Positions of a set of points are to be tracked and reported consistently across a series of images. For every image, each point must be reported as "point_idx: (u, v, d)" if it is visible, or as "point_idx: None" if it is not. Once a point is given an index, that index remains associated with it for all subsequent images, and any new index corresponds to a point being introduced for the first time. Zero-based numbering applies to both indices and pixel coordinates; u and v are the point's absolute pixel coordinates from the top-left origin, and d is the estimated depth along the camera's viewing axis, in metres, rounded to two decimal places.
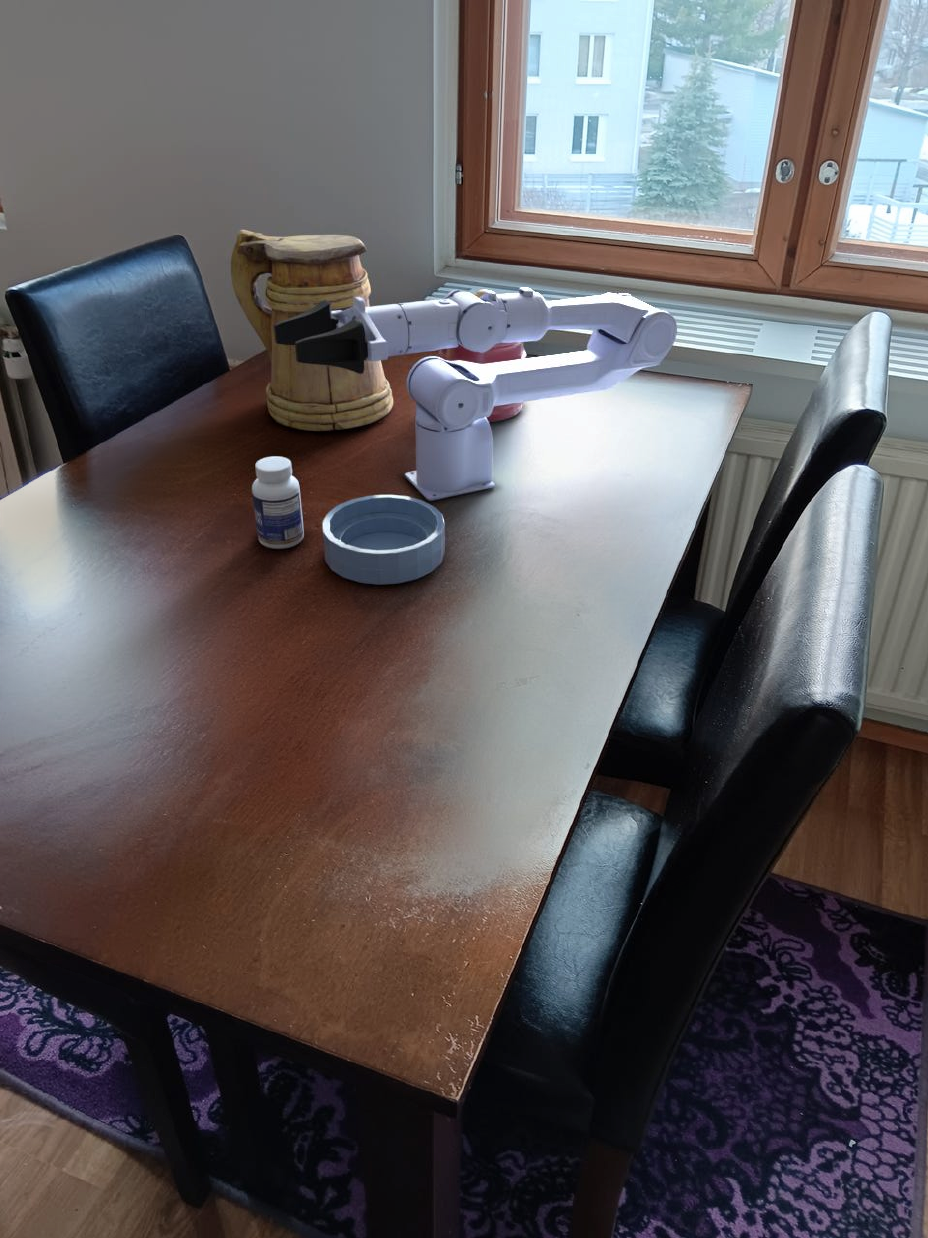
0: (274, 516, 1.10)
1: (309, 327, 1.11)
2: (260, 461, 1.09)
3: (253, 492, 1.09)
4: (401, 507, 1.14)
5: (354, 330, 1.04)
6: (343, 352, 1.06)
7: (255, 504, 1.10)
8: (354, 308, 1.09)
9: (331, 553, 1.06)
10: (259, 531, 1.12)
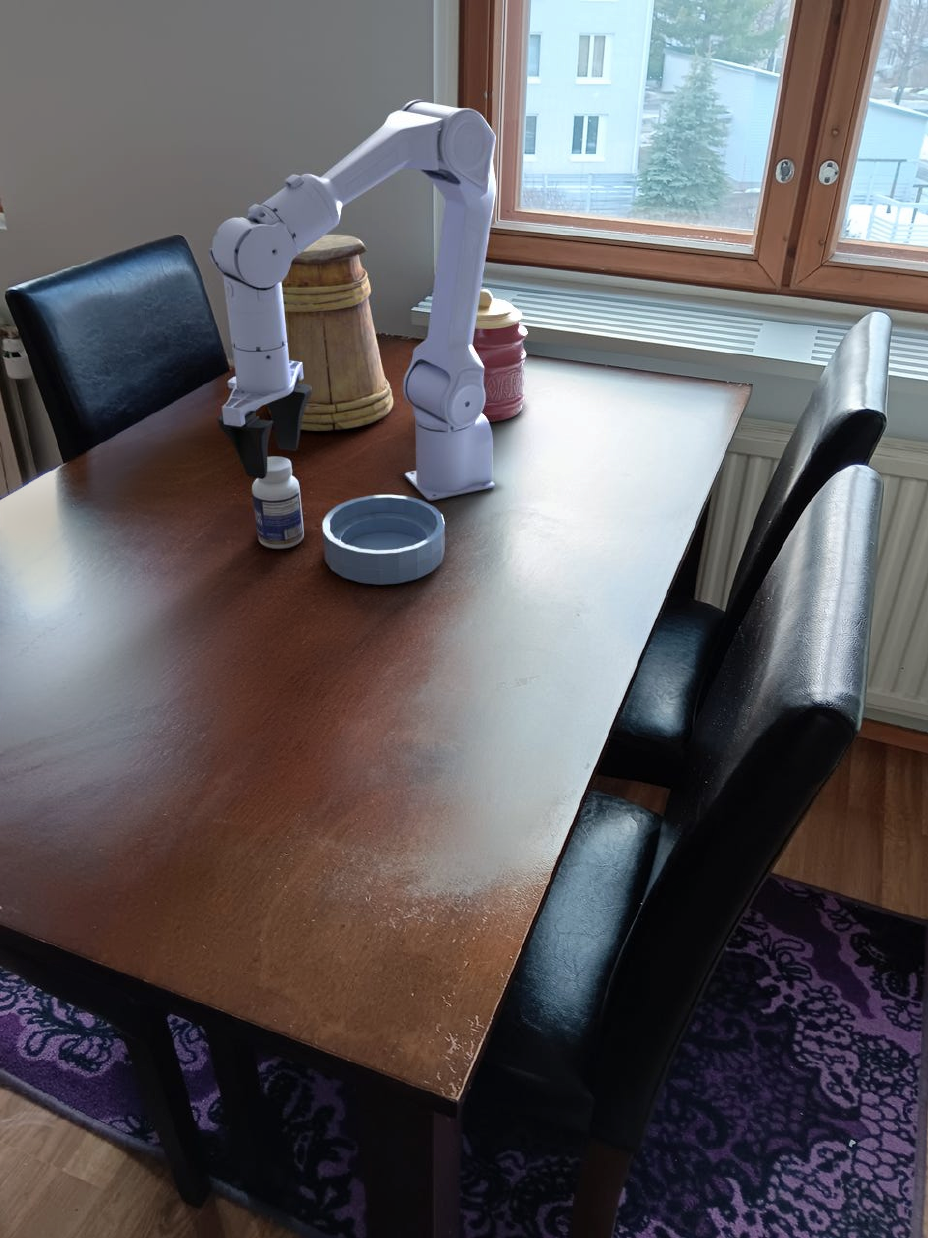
0: (274, 516, 1.10)
1: (282, 415, 1.09)
2: None
3: (253, 492, 1.09)
4: (401, 507, 1.14)
5: (222, 429, 1.01)
6: (253, 434, 1.02)
7: (255, 504, 1.10)
8: None
9: (331, 553, 1.06)
10: (259, 531, 1.12)
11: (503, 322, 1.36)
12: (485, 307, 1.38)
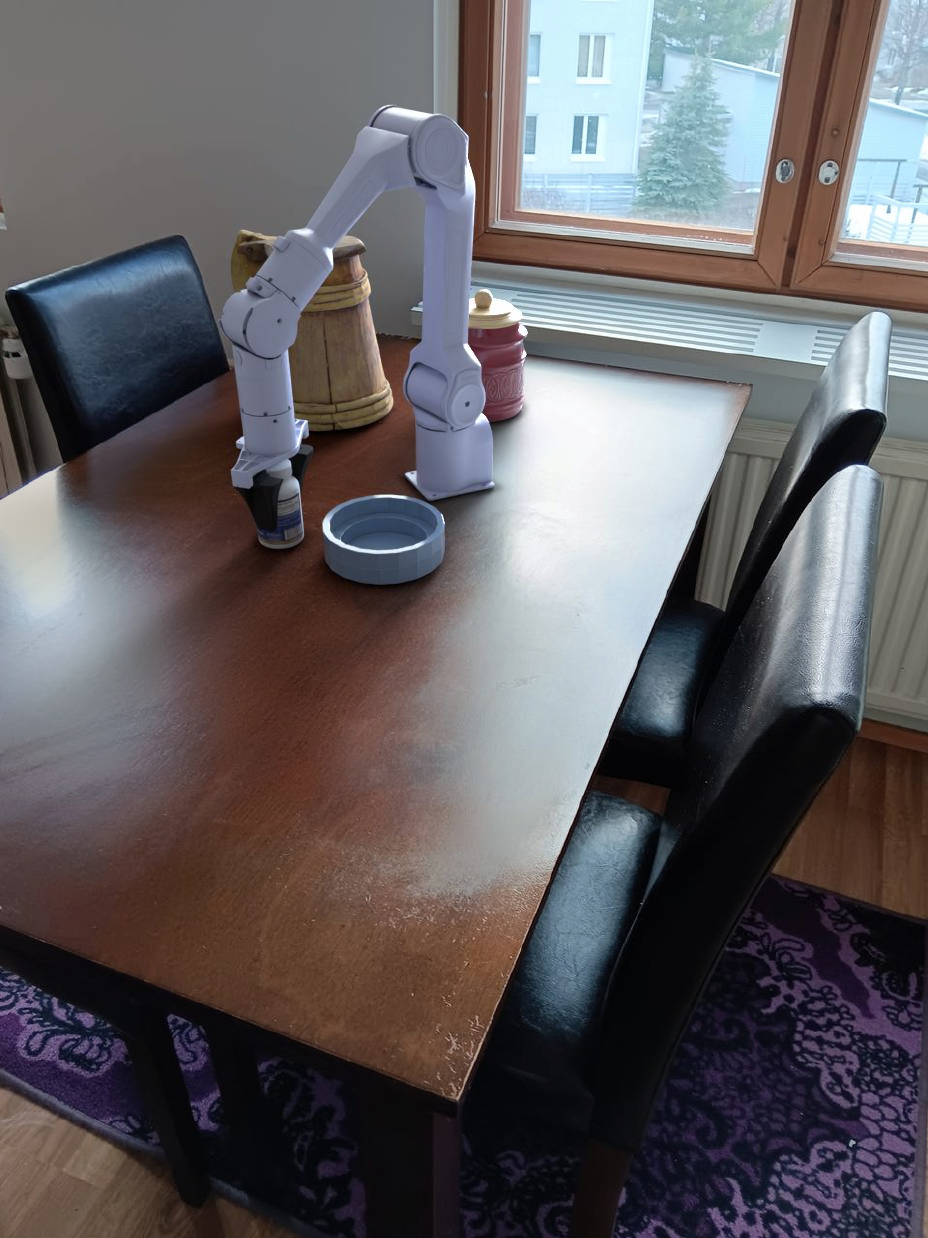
0: None
1: None
2: None
3: None
4: (401, 507, 1.14)
5: (234, 486, 1.06)
6: None
7: None
8: None
9: (331, 553, 1.06)
10: (259, 531, 1.12)
11: (503, 322, 1.36)
12: (485, 307, 1.38)
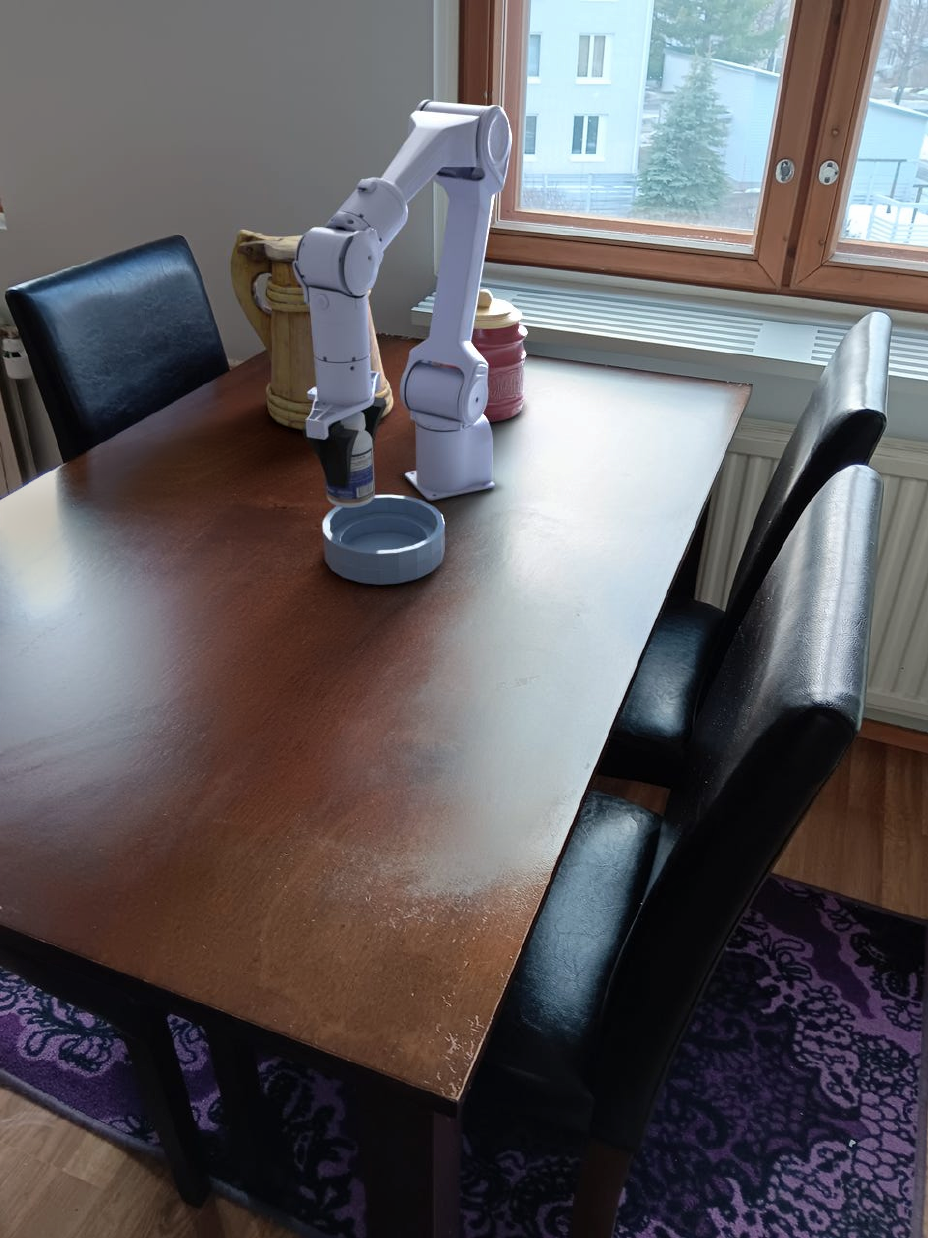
0: None
1: None
2: None
3: None
4: (401, 507, 1.14)
5: (307, 438, 1.00)
6: (337, 444, 1.01)
7: None
8: None
9: (331, 553, 1.06)
10: (329, 489, 1.06)
11: (503, 322, 1.36)
12: (485, 307, 1.38)
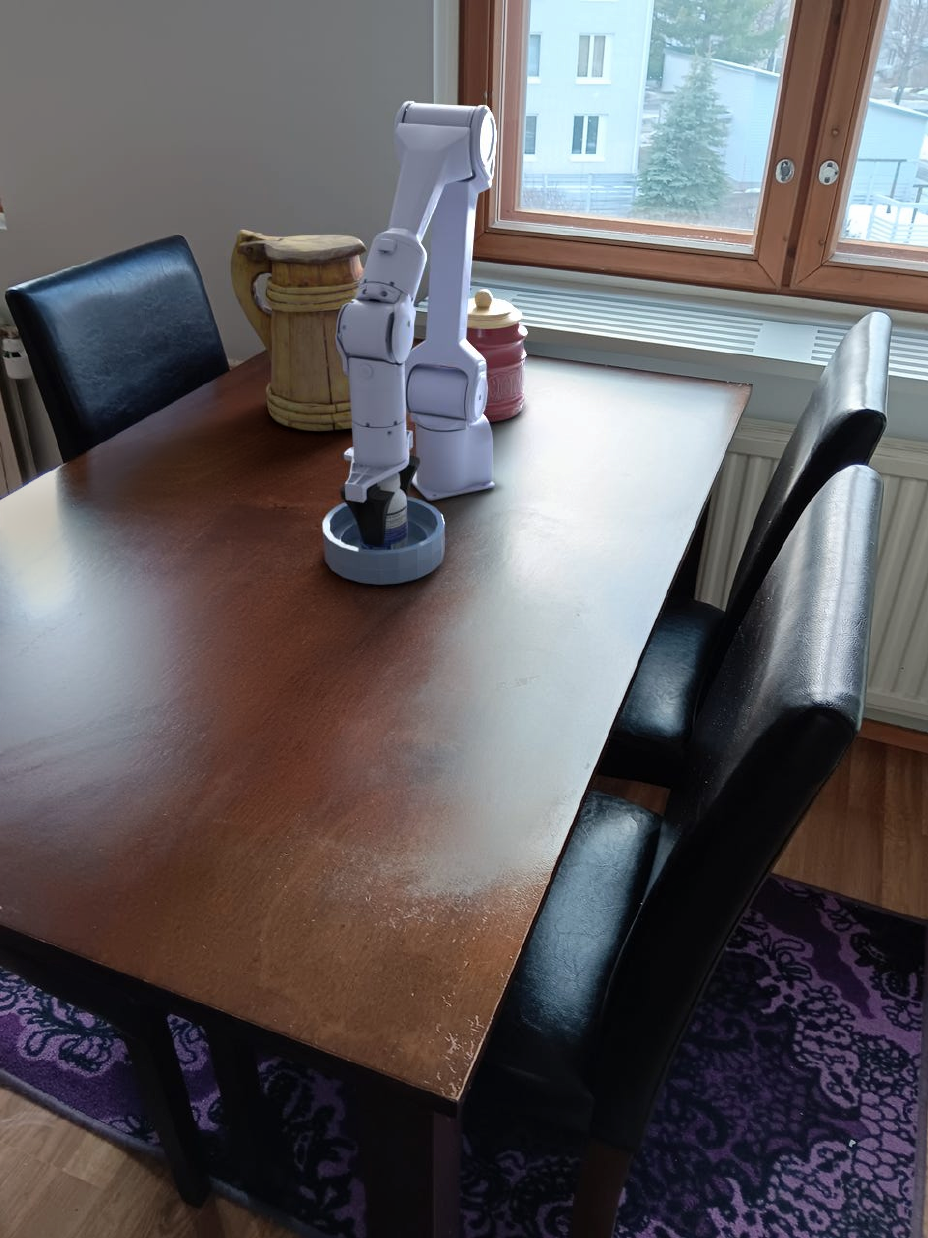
0: None
1: None
2: None
3: None
4: None
5: (344, 499, 1.02)
6: (373, 504, 1.03)
7: None
8: None
9: (331, 553, 1.06)
10: (364, 545, 1.08)
11: (503, 322, 1.36)
12: (485, 307, 1.38)
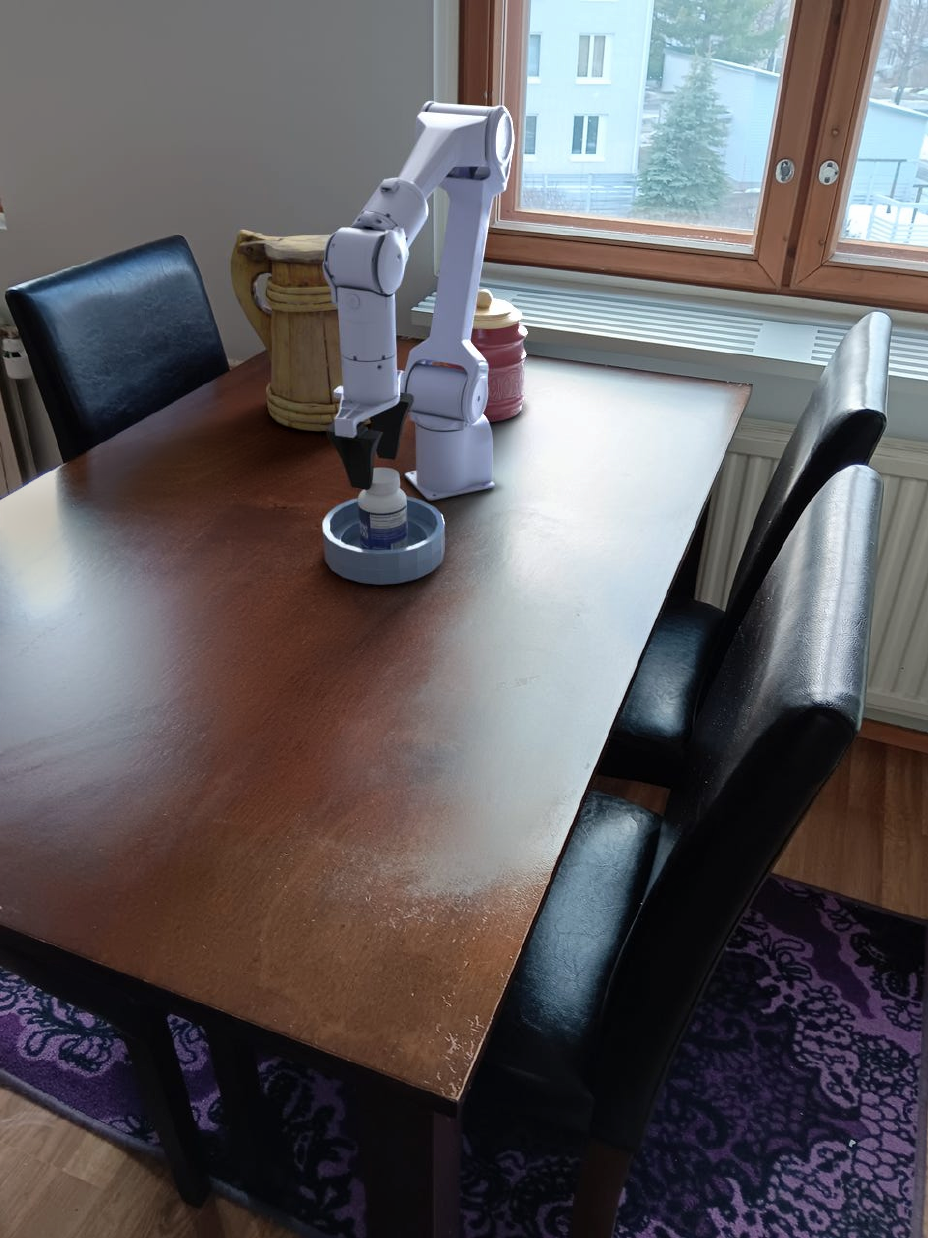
0: (381, 529, 1.06)
1: (383, 425, 1.08)
2: None
3: (360, 504, 1.06)
4: None
5: (331, 440, 1.00)
6: (361, 445, 1.01)
7: (362, 517, 1.06)
8: None
9: (331, 553, 1.06)
10: (364, 545, 1.08)
11: (503, 322, 1.36)
12: (485, 307, 1.38)
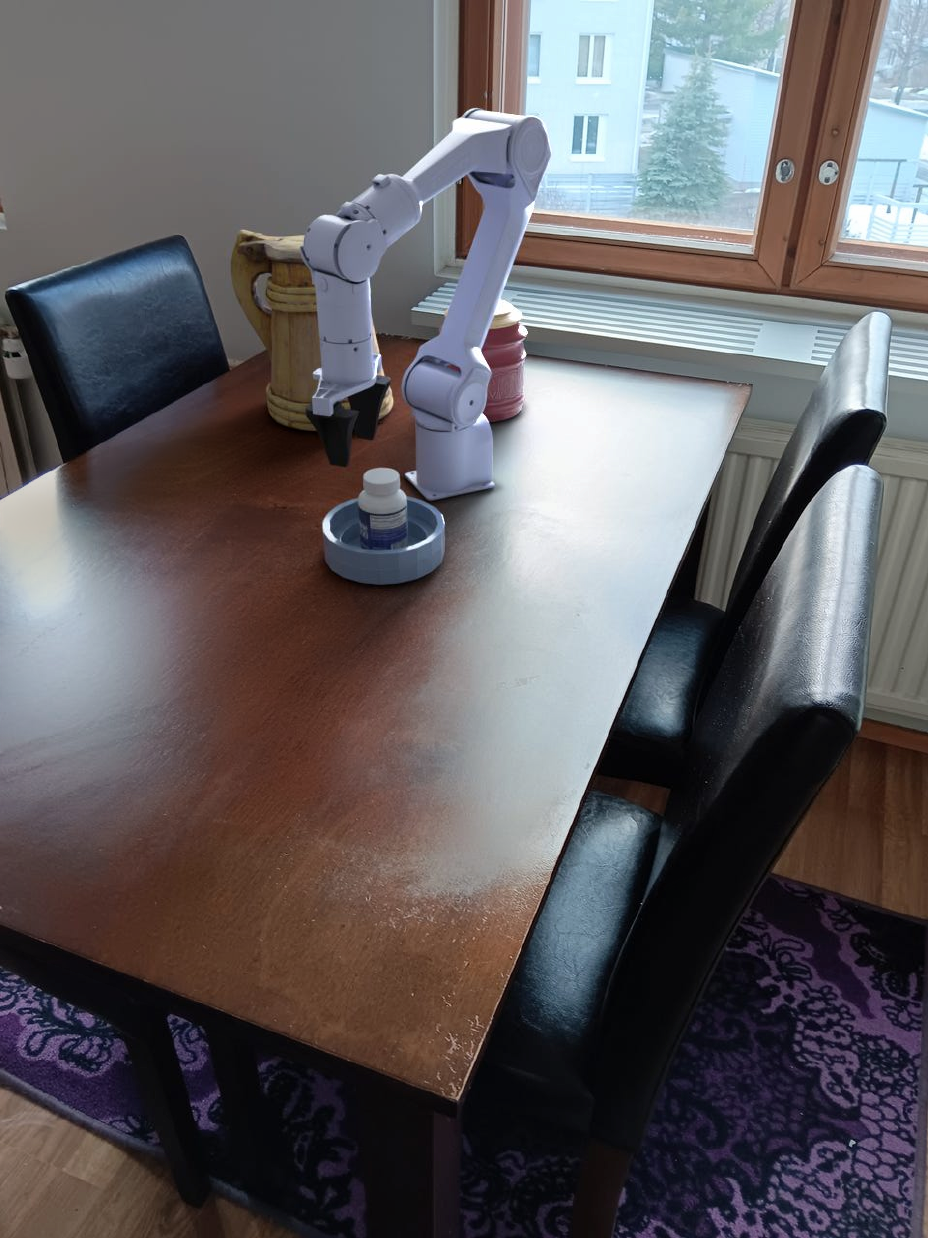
0: (381, 529, 1.06)
1: (361, 406, 1.13)
2: (367, 473, 1.06)
3: (360, 505, 1.06)
4: None
5: (309, 418, 1.05)
6: (338, 424, 1.06)
7: (362, 517, 1.06)
8: None
9: (331, 553, 1.06)
10: (364, 545, 1.08)
11: (503, 322, 1.36)
12: None
